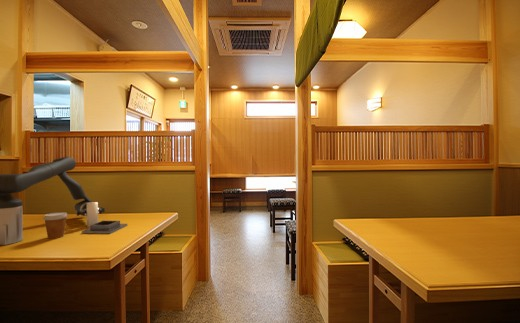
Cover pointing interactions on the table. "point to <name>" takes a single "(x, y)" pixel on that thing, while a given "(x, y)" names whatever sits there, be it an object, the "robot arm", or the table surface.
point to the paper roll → (92, 213)
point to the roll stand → (105, 227)
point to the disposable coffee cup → (55, 224)
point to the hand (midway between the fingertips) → (92, 213)
